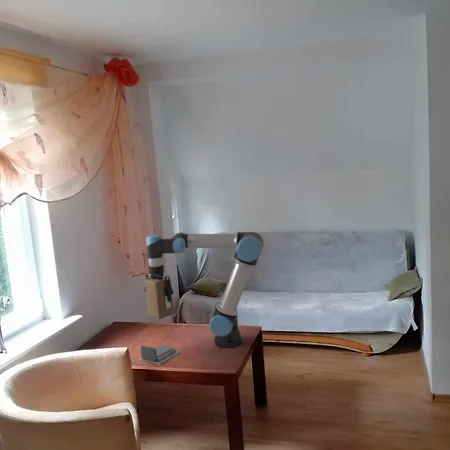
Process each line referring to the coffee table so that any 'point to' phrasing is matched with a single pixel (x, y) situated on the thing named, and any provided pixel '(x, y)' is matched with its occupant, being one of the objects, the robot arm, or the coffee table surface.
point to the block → (157, 299)
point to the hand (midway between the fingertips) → (160, 306)
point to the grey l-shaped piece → (157, 354)
